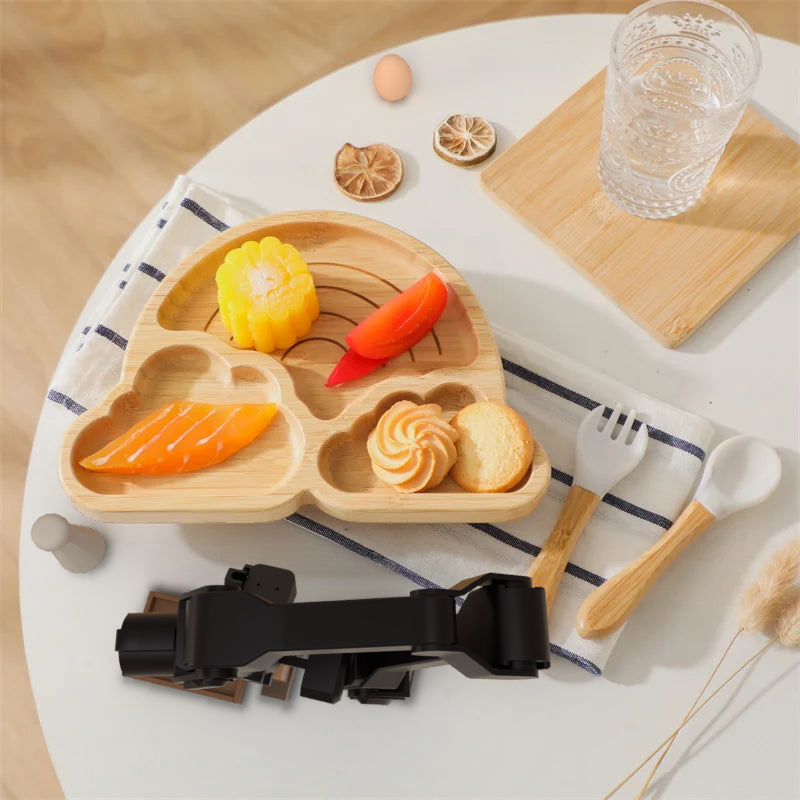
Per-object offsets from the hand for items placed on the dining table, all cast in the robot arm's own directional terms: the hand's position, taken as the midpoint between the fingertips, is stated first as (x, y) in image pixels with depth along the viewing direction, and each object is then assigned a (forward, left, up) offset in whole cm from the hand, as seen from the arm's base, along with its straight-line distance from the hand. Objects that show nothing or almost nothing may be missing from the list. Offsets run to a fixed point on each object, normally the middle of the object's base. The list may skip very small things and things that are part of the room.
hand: (272, 661), depth 101 cm
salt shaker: (+28, -8, -9) cm, 30 cm away
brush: (0, 0, -9) cm, 9 cm away
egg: (+6, -85, -9) cm, 86 cm away
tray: (+11, 0, -9) cm, 14 cm away
